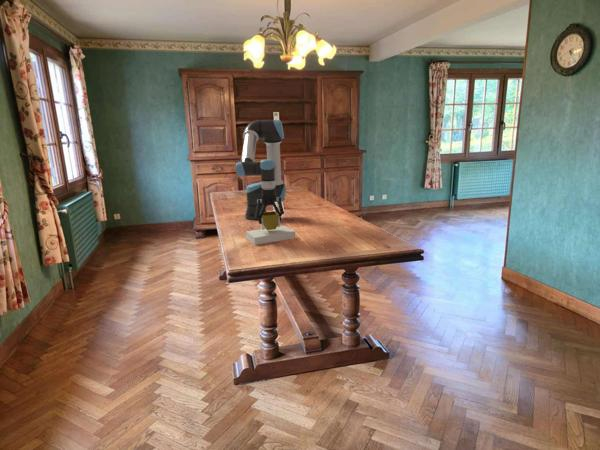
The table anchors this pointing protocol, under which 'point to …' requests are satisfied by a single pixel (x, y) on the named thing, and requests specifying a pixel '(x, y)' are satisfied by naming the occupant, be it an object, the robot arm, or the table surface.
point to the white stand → (270, 235)
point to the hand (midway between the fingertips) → (270, 228)
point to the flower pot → (270, 220)
